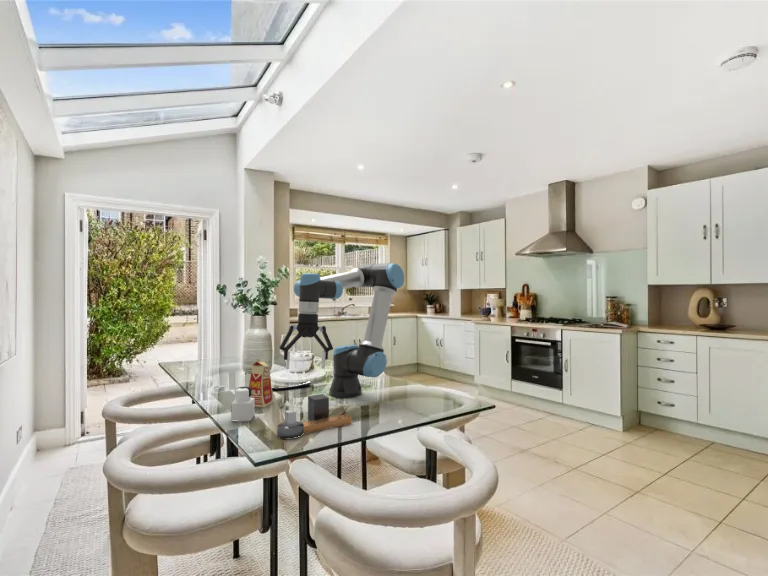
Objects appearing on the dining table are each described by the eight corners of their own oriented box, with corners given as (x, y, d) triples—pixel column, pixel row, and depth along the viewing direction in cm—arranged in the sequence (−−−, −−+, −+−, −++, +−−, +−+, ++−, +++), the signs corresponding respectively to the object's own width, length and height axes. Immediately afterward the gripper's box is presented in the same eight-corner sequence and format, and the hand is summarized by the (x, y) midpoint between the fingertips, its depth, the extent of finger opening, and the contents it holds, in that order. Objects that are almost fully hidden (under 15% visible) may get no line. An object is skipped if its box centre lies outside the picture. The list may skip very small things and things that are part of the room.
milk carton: (264, 407, 171) (264, 360, 171) (244, 405, 173) (244, 359, 173) (274, 401, 180) (274, 356, 180) (255, 399, 182) (255, 355, 182)
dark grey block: (322, 416, 160) (322, 393, 160) (328, 421, 155) (328, 397, 155) (307, 419, 157) (308, 396, 157) (314, 423, 152) (314, 400, 152)
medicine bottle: (236, 415, 160) (236, 385, 160) (254, 415, 161) (254, 385, 161) (230, 421, 153) (231, 390, 153) (250, 421, 154) (250, 390, 154)
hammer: (343, 418, 158) (343, 398, 158) (354, 425, 150) (354, 404, 150) (273, 432, 143) (273, 409, 143) (282, 441, 135) (282, 417, 135)
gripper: (276, 312, 148) (273, 370, 147) (342, 314, 157) (339, 369, 156) (274, 311, 155) (271, 367, 154) (337, 313, 164) (334, 366, 163)
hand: (305, 368), depth 155 cm, fingers open, 13 cm apart
